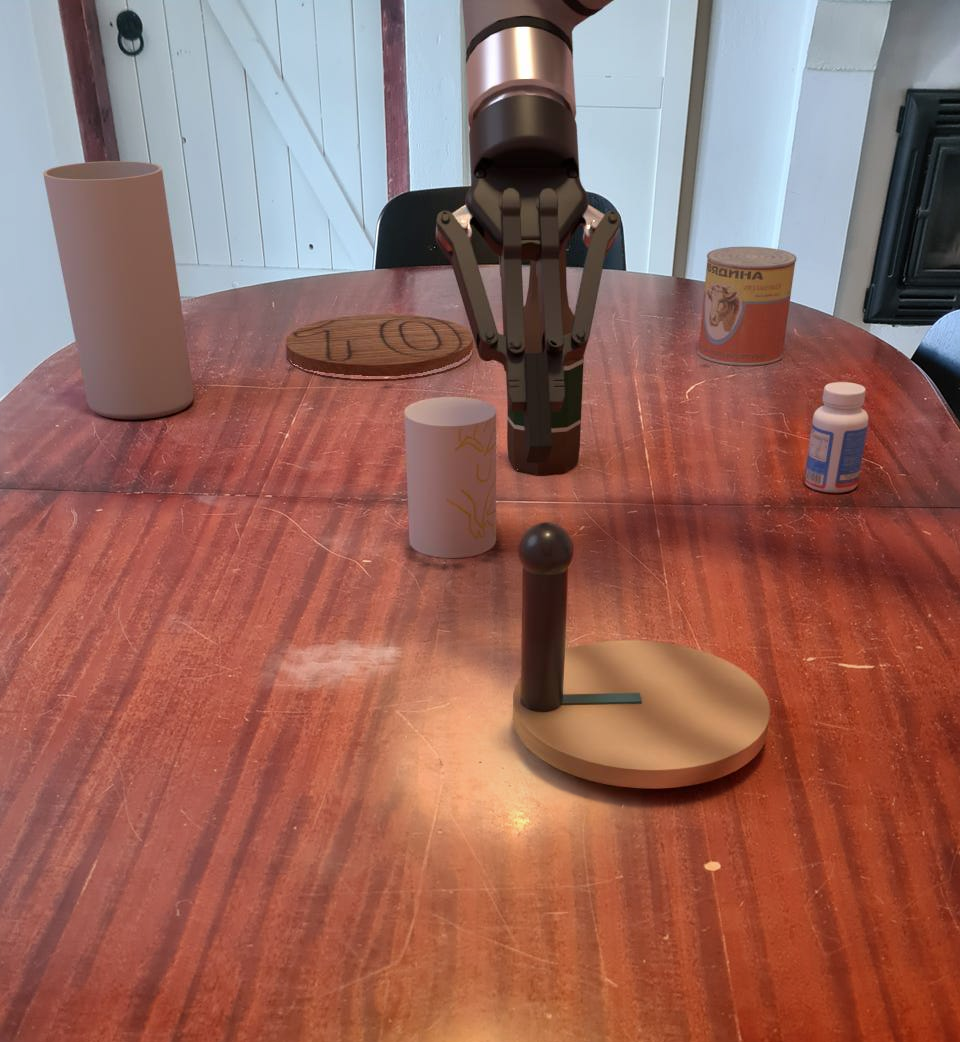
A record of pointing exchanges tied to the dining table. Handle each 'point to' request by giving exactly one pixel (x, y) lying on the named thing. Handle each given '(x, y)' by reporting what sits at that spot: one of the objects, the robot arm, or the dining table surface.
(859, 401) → the pill bottle
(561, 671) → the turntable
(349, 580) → the dining table surface
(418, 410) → the white cylinder
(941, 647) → the dining table surface
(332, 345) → the trivet
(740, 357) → the canned food
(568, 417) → the beer bottle
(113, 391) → the cylinder vase
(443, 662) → the dining table surface
